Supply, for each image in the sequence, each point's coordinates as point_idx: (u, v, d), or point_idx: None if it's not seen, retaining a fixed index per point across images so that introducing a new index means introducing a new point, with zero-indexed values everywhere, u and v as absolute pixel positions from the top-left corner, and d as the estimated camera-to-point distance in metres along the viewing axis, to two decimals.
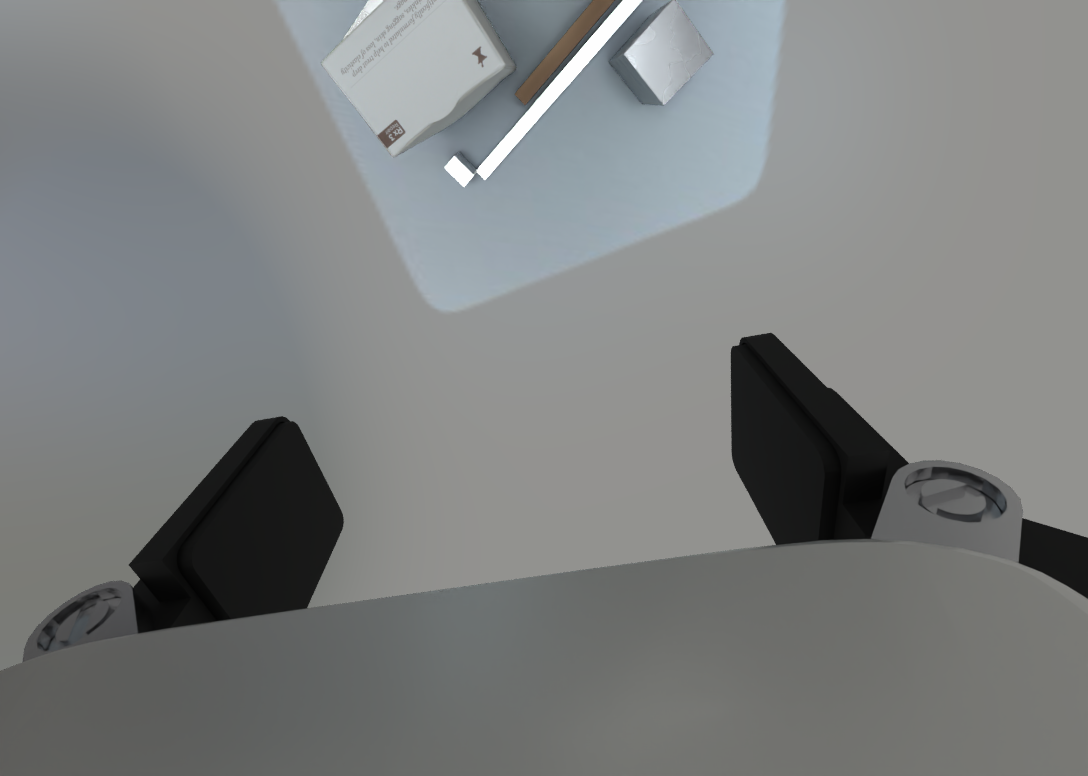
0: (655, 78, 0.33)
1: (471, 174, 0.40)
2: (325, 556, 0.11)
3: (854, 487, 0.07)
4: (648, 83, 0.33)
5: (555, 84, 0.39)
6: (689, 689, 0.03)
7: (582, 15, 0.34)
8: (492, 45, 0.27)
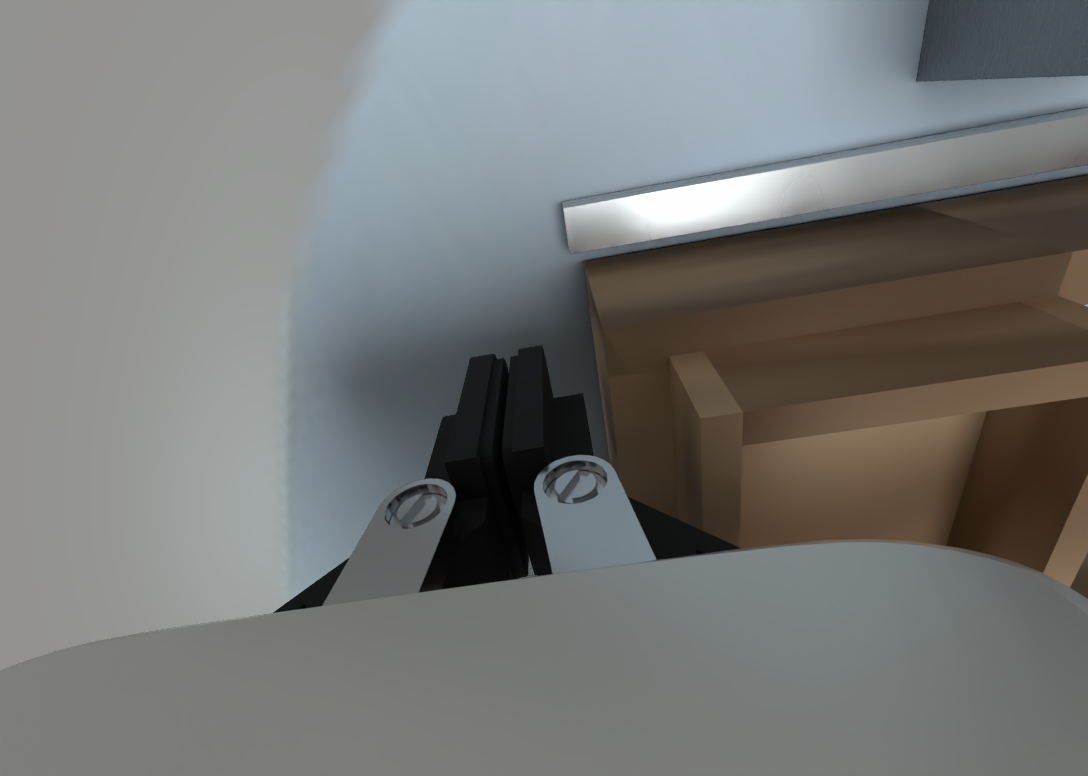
0: None
1: None
2: None
3: (527, 477, 0.08)
4: None
5: None
6: (689, 690, 0.03)
7: None
8: None
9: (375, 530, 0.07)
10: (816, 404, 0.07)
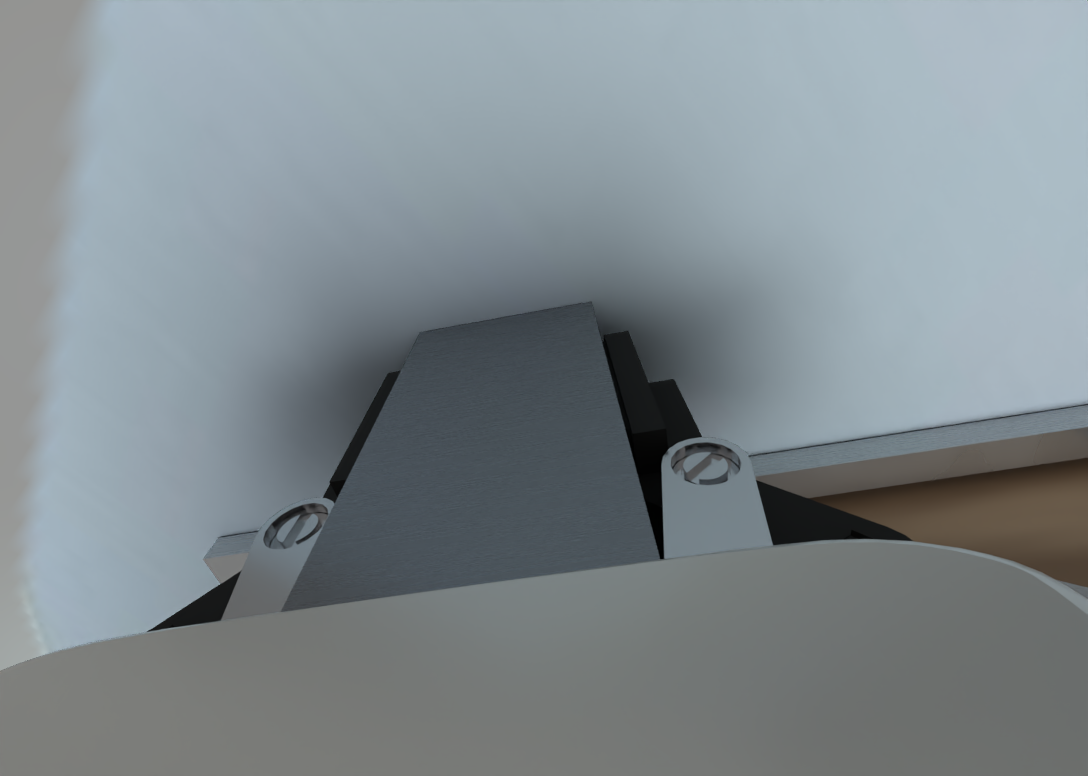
0: None
1: None
2: None
3: (645, 460, 0.08)
4: None
5: None
6: (689, 688, 0.03)
7: None
8: None
9: (257, 557, 0.07)
10: None
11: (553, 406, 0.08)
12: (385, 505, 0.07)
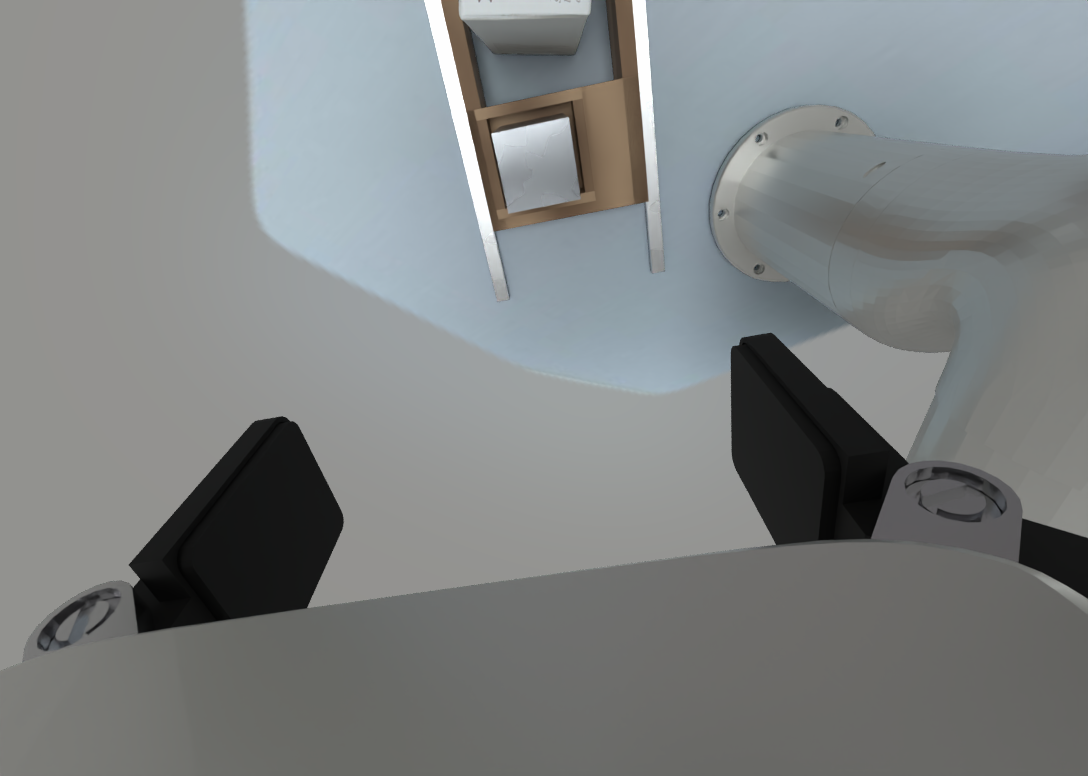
0: (563, 153, 0.27)
1: None
2: (325, 556, 0.11)
3: (854, 487, 0.07)
4: (572, 153, 0.27)
5: (456, 84, 0.35)
6: (689, 690, 0.03)
7: (463, 33, 0.31)
8: (485, 17, 0.22)
9: None
10: (494, 193, 0.33)
11: (548, 118, 0.29)
12: (507, 128, 0.28)
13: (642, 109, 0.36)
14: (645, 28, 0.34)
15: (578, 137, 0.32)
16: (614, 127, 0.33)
